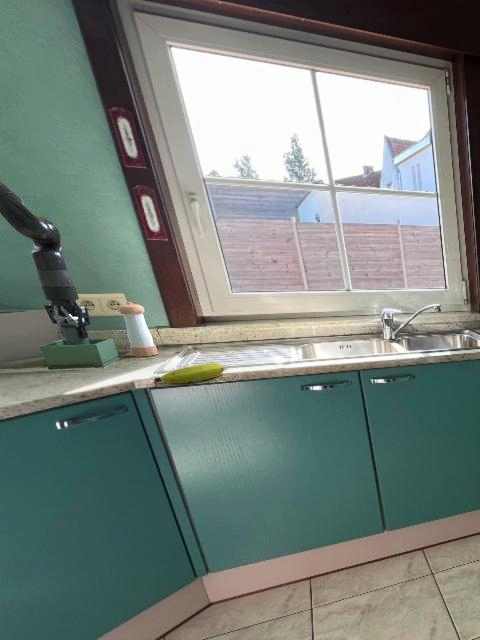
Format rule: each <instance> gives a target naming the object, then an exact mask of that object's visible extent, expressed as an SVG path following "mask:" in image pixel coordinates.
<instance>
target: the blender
mask: <svg viewBox="0 0 480 640" xmlns="http://www.w3.org/2000/svg"><path fill="white" fill-rule="evenodd" d="M60 327H61V328H62V330H63V333H64V336H65V337H64V336H63V337H64V338H65V339H64V340H66V341H67V344H68V345H90V343H89V340H88V339H89V337H88V338H85V339H80V338H79V336H78V333H77V330H76V326H75V325H74V323H73V322H69V323H64V324H60V326H59V328H60ZM61 328H60V329H61Z"/></svg>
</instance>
